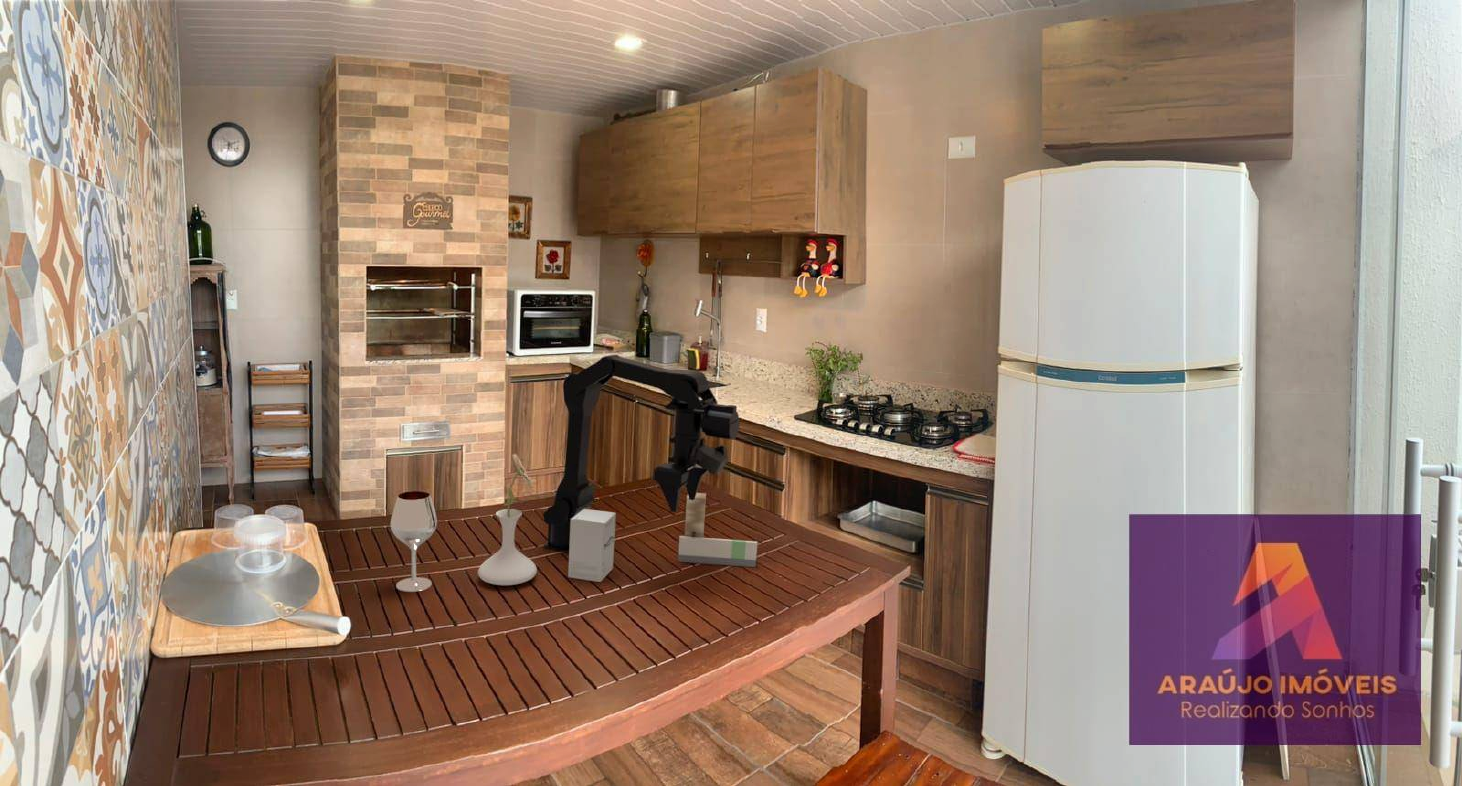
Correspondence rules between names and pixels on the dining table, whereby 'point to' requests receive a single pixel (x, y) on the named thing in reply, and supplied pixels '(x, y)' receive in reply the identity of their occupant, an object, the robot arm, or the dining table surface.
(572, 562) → the supplement box
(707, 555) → the board
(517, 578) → the flower in vase
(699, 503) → the beige brown box
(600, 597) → the dining table surface
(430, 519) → the wineglass
